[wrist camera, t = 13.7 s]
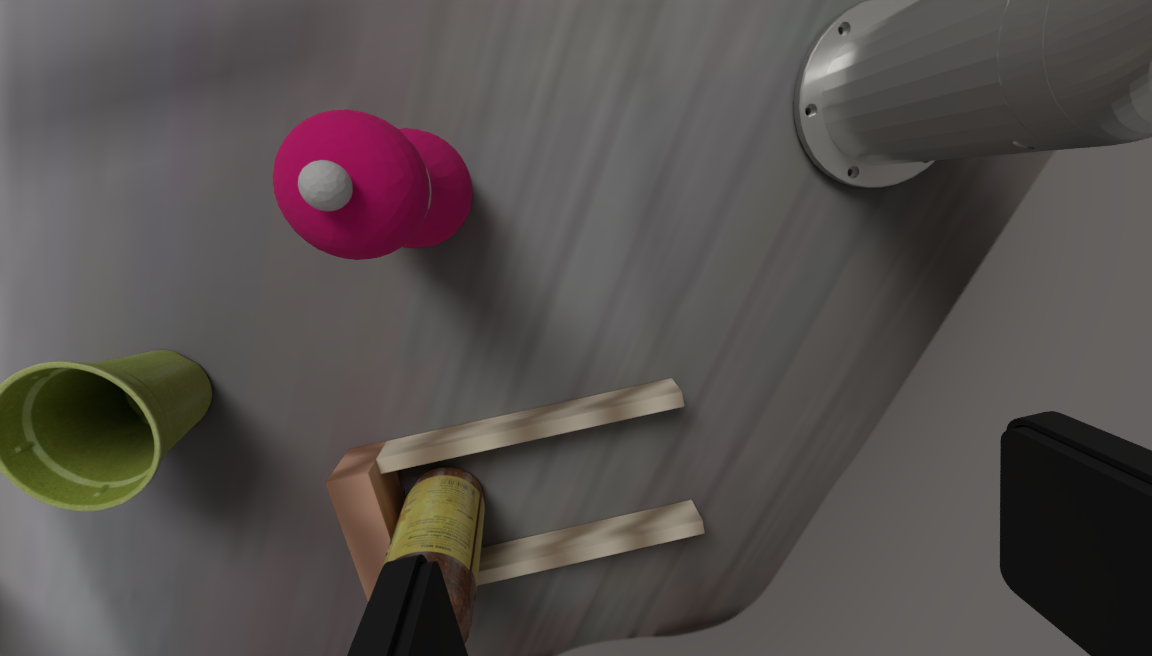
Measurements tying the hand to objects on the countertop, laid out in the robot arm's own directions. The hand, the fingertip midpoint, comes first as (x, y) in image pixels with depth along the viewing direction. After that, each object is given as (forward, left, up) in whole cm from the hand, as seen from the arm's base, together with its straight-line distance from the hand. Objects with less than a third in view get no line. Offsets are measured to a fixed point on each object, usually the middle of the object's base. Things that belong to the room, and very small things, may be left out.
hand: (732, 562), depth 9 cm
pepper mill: (+9, -8, -32) cm, 35 cm away
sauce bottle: (+14, +16, -32) cm, 39 cm away
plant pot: (+31, +2, -32) cm, 45 cm away
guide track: (+7, +16, -32) cm, 37 cm away
